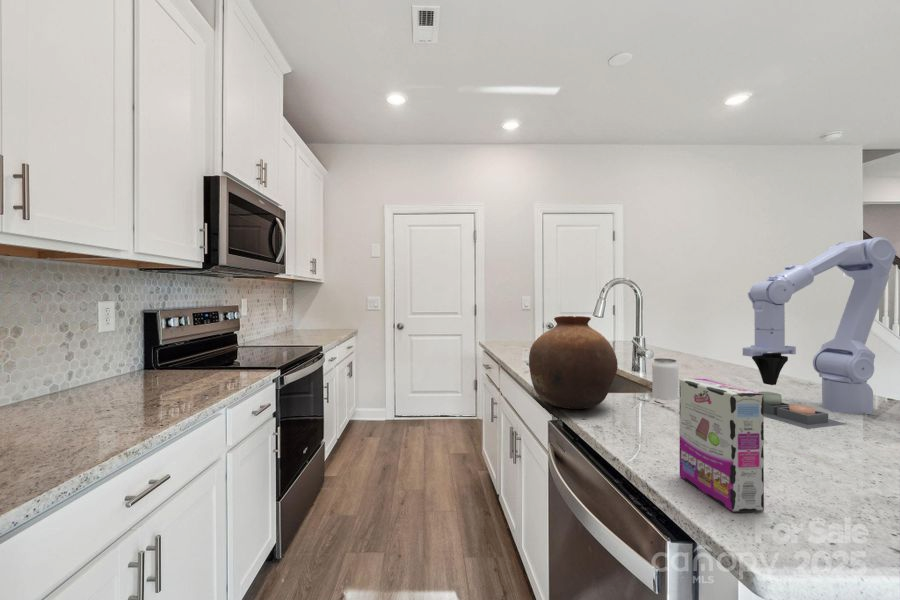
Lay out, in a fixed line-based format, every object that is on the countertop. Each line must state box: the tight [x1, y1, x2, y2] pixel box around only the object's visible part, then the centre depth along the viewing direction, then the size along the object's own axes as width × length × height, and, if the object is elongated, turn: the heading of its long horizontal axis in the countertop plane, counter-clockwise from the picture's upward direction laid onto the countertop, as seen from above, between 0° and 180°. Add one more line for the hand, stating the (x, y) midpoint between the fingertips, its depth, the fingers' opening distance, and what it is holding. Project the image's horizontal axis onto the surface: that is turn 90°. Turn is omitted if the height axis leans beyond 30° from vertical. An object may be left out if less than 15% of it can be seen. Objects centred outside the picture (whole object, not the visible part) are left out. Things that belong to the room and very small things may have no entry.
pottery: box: [528, 315, 619, 410], centre depth 104 cm, size 23×23×25 cm
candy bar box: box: [678, 378, 765, 513], centre depth 58 cm, size 11×5×16 cm, turn 5°
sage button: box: [757, 391, 783, 406], centre depth 94 cm, size 4×4×2 cm
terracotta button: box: [789, 403, 816, 415], centre depth 87 cm, size 4×4×2 cm
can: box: [651, 357, 680, 405], centre depth 108 cm, size 6×6×12 cm
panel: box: [764, 402, 847, 430], centre depth 94 cm, size 12×24×4 cm, turn 14°
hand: (769, 384), depth 94 cm, fingers closed
